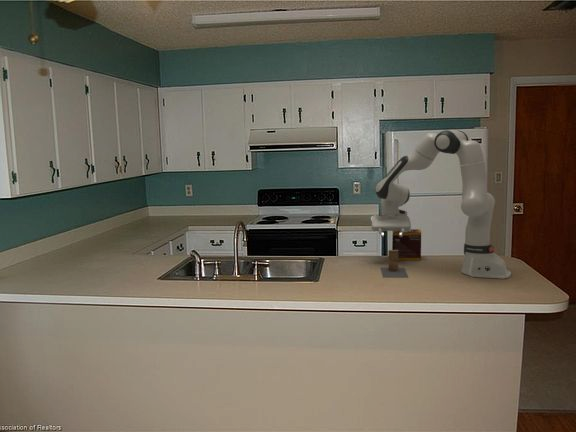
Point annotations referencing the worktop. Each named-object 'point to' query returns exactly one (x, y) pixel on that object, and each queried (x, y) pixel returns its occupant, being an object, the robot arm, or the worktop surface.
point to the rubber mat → (394, 273)
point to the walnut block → (393, 260)
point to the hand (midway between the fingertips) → (391, 236)
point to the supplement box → (407, 244)
